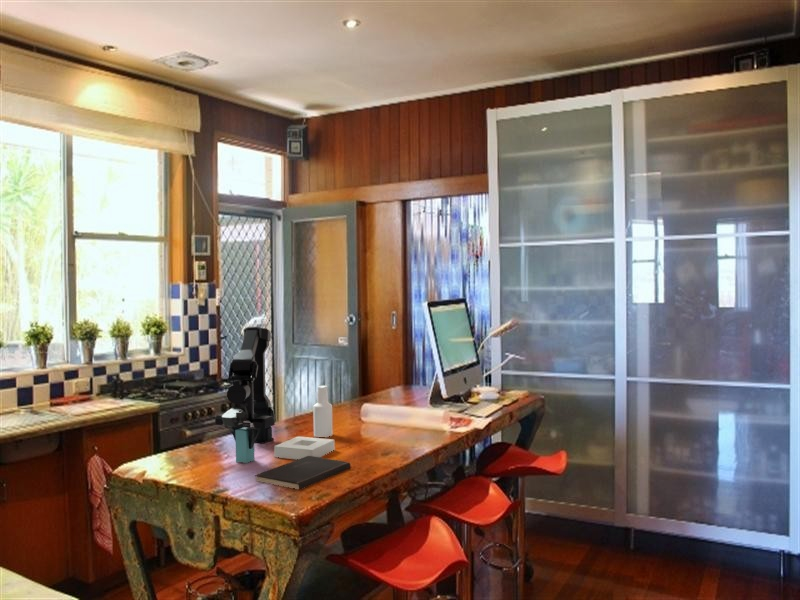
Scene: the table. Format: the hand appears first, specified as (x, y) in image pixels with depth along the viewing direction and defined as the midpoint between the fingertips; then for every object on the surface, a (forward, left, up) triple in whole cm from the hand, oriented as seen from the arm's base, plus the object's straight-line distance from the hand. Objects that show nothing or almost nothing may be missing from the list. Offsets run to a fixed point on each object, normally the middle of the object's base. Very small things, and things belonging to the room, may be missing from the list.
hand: (245, 448), depth 197 cm
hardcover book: (+25, -6, -5) cm, 26 cm away
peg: (0, 0, -4) cm, 4 cm away
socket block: (+13, +14, -4) cm, 20 cm away
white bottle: (+6, +38, -4) cm, 39 cm away
